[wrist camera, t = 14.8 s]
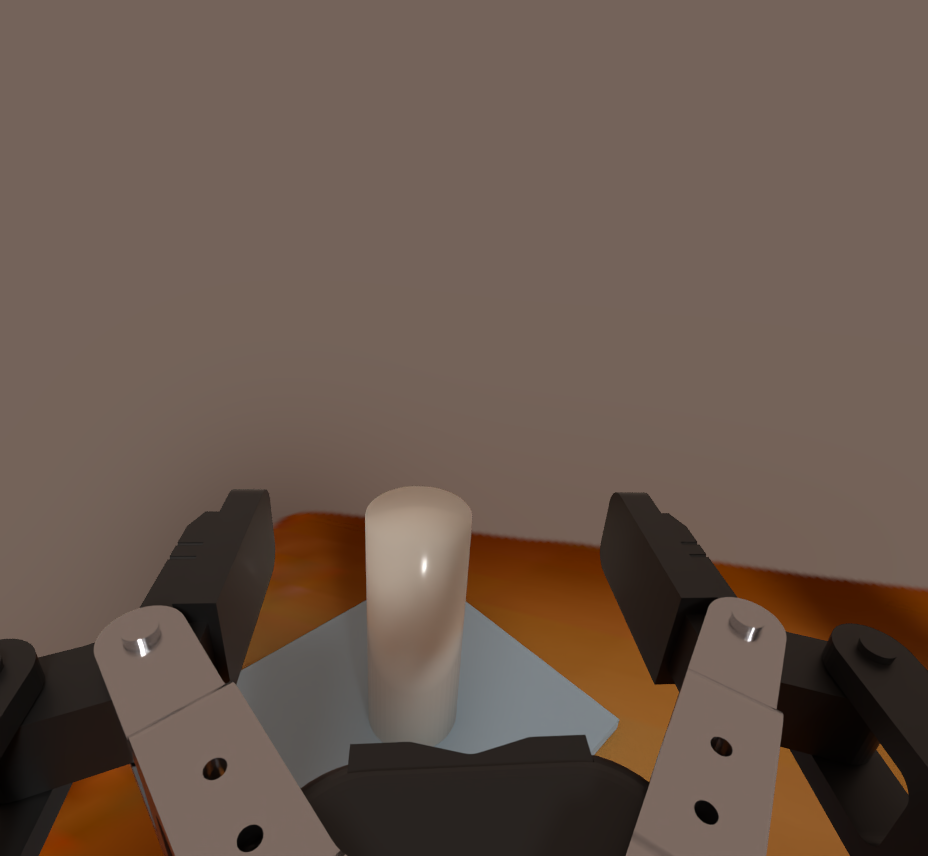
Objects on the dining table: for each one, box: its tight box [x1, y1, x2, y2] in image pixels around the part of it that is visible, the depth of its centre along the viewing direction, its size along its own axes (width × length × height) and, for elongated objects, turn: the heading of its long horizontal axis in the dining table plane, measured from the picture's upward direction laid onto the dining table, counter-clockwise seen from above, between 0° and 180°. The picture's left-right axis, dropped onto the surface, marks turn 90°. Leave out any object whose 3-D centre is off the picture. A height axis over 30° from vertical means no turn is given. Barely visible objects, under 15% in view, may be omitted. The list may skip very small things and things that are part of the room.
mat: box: [236, 600, 619, 788], centre depth 34 cm, size 18×18×1 cm
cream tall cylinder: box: [365, 486, 472, 747], centre depth 30 cm, size 5×5×14 cm
